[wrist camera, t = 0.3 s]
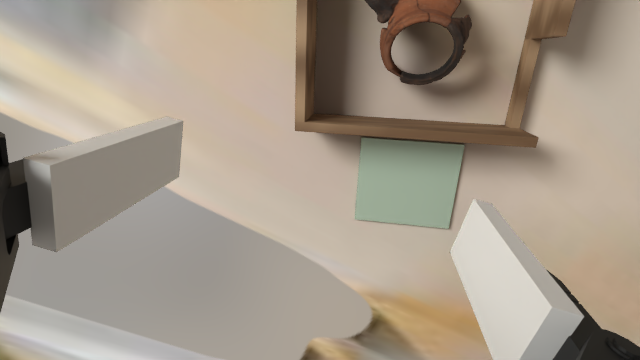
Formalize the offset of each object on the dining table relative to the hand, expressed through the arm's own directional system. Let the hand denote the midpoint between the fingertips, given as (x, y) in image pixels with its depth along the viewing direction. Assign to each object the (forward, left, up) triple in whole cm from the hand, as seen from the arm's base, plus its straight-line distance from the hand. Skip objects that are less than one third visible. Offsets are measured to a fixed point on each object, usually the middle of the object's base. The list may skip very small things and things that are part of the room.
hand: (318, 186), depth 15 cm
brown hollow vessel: (-11, +5, -28) cm, 30 cm away
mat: (+9, +7, -27) cm, 29 cm away
